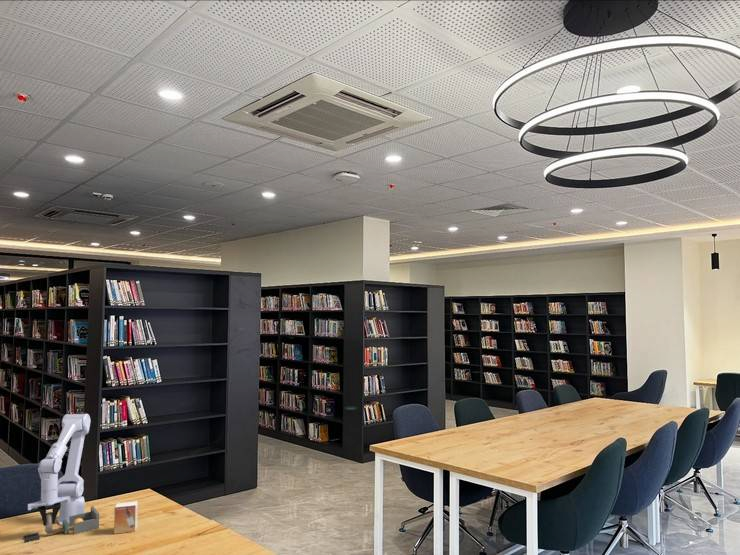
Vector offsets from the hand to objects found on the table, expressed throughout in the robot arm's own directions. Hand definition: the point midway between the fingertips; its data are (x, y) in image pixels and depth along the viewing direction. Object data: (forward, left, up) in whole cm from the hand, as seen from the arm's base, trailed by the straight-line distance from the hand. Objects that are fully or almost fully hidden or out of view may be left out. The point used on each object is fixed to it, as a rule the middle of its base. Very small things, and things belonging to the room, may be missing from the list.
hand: (48, 524), depth 218 cm
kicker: (-3, 0, -4) cm, 6 cm away
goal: (-13, 0, -4) cm, 13 cm away
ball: (-10, 0, -2) cm, 11 cm away
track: (+6, 0, -4) cm, 7 cm away
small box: (-25, +15, -5) cm, 30 cm away
